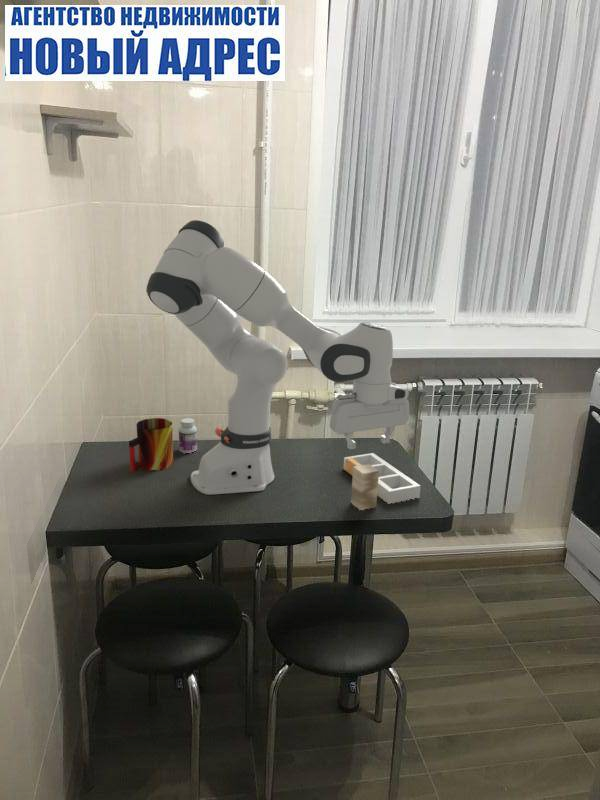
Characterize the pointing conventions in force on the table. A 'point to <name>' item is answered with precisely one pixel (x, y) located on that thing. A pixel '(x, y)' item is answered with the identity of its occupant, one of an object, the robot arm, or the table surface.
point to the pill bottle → (187, 436)
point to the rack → (386, 478)
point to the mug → (152, 445)
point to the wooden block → (364, 486)
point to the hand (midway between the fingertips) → (368, 445)
